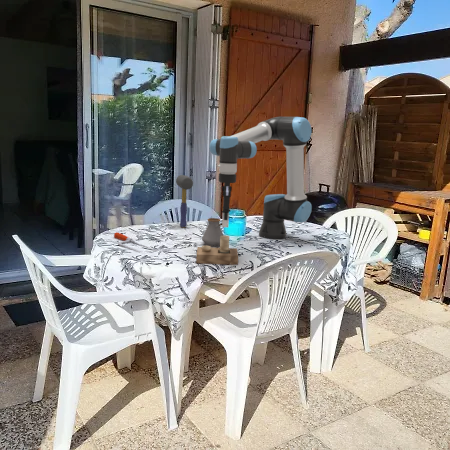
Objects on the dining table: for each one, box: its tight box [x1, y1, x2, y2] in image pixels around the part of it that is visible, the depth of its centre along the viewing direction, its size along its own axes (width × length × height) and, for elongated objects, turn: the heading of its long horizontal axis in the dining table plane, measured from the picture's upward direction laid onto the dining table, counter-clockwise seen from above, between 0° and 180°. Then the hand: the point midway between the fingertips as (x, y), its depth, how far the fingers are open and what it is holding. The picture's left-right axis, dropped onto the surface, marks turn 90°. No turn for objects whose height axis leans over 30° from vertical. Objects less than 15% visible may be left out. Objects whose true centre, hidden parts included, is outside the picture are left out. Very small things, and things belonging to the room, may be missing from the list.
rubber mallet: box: [175, 174, 194, 229], centre depth 261 cm, size 12×8×30 cm, turn 21°
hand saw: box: [113, 232, 158, 253], centre depth 224 cm, size 33×3×10 cm
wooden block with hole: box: [195, 244, 239, 266], centre depth 205 cm, size 18×12×6 cm, turn 91°
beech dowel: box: [219, 234, 230, 253], centre depth 205 cm, size 4×4×11 cm
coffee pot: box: [201, 217, 224, 247], centre depth 226 cm, size 21×12×15 cm, turn 22°
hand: (225, 226), depth 202 cm, fingers closed
